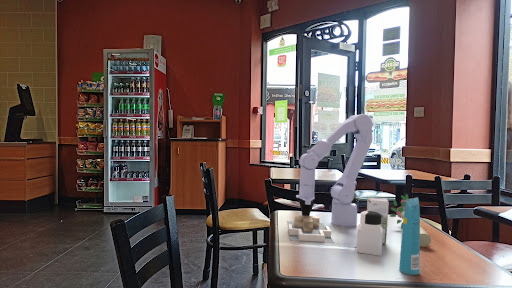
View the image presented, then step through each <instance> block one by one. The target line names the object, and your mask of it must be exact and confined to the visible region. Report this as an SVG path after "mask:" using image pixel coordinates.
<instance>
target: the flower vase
mask: <svg viewBox="0 0 512 288" xmlns="http://www.w3.org/2000/svg"><path fill="white" fill-rule="evenodd" d="M400 197H401V201H400V204H401V205H400V206H399V207H397V206H398V203H397V201H396V199H393V206H395V207H397V208H395V207H390V209H391V211H393V212H395V213H396V214H395V213H391V214H390V215H388V217H391V218H397V217H398V218H399V219H397V220H396V225H398V224H400V223H401V224H400V229H401V230H402V229H403V222H402V220H403V219H404V211H405V205H406V200H408V199H409V194H408V193H406V194H405V196H404V195H400ZM431 243H432V238H431V236H430V235H429V233H428V232H426V230H425V229H424V227H422V225H420V246H423V247H422V248H426V247H428V246H429V245H431Z"/></svg>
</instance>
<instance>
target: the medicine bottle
mask: <svg viewBox="0 0 512 288" xmlns="http://www.w3.org/2000/svg"><path fill="white" fill-rule="evenodd" d="M359 220H360V221H359V222H360V223H359V224H358V225H357V226H358V227H357V232H356V233H357V234H356V250H355V252H356V253H358V254H366V255H373V256H374V255H375V256H380V257H381V256H382V251H383V244H382V236H383V228H382V227H381V214H380V213H378V212H374V211H367V210H364V211H361V212H360V219H359Z"/></svg>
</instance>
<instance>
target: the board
mask: <svg viewBox="0 0 512 288" xmlns="http://www.w3.org/2000/svg"><path fill="white" fill-rule="evenodd" d="M286 223H287V227H288V226H289V224H292V228H295V229H301V230H302V233H303V234H318V235H319V230H325V226H326V225H325V224H324V223H322V222H319V228H315V227H313V232H311V231H304V229H303V227H297V226H294V221H286ZM288 237H289V241H292V242H293V241H294V242H301V241H300V240H299V237H298V235H289V234H288ZM306 242H307V243H309V242H311V243H318V242H317V241H306ZM323 243H324V244H325V243H326V244H335V242H334V240H333V238H332V236H331V237H325V242H323ZM300 244H303V243H300ZM317 245H320V244H317Z"/></svg>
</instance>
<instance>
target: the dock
mask: <svg viewBox="0 0 512 288" xmlns="http://www.w3.org/2000/svg"><path fill="white" fill-rule="evenodd" d="M324 226H325V230H319V235H318V234H303V233H302V230H301V229H295V228H292V224H289V226H288V225H287V230H288V236H289V235H298V237H299V240H300V241H299V242H307V241H317V242H316V243H324V242H325V237H331V238H332V230H331V228H330V226H328V225H324Z"/></svg>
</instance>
